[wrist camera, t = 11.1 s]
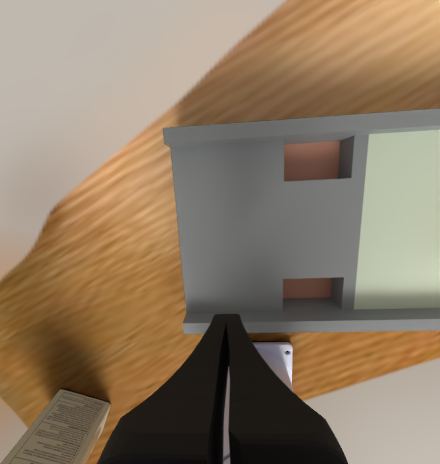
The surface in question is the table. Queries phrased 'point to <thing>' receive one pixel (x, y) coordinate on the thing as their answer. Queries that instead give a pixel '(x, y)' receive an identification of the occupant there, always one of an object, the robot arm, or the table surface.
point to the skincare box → (62, 431)
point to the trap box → (311, 222)
